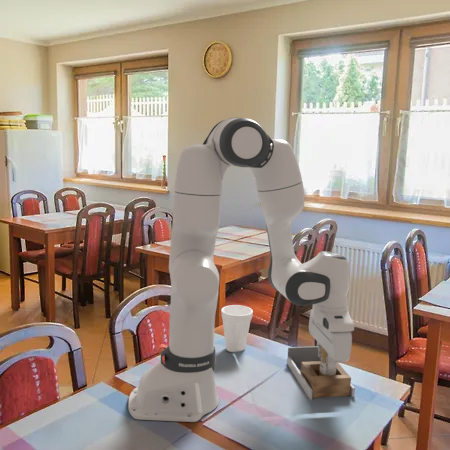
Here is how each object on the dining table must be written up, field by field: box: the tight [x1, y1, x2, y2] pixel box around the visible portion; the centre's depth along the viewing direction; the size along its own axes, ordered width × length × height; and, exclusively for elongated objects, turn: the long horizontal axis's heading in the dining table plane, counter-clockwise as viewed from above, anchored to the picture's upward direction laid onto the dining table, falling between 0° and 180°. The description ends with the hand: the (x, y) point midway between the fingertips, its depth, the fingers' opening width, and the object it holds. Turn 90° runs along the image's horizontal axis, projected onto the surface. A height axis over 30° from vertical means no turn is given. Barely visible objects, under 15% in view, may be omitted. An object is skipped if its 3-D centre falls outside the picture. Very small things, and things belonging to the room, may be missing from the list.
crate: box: [300, 361, 352, 399], centre depth 129 cm, size 10×10×5 cm
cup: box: [220, 304, 254, 353], centre depth 152 cm, size 10×10×13 cm
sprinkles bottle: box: [319, 348, 337, 376], centre depth 128 cm, size 5×5×13 cm
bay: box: [286, 345, 356, 401], centre depth 133 cm, size 12×20×6 cm, turn 9°
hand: (326, 362), depth 128 cm, fingers closed on sprinkles bottle, 4 cm apart
